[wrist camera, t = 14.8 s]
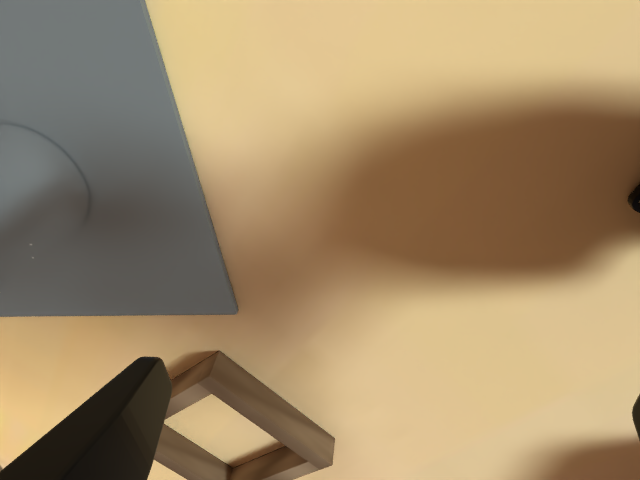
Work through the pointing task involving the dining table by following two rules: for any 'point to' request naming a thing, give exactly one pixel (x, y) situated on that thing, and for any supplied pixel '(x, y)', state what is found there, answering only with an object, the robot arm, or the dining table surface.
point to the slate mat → (109, 165)
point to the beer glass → (35, 197)
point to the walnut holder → (256, 405)
